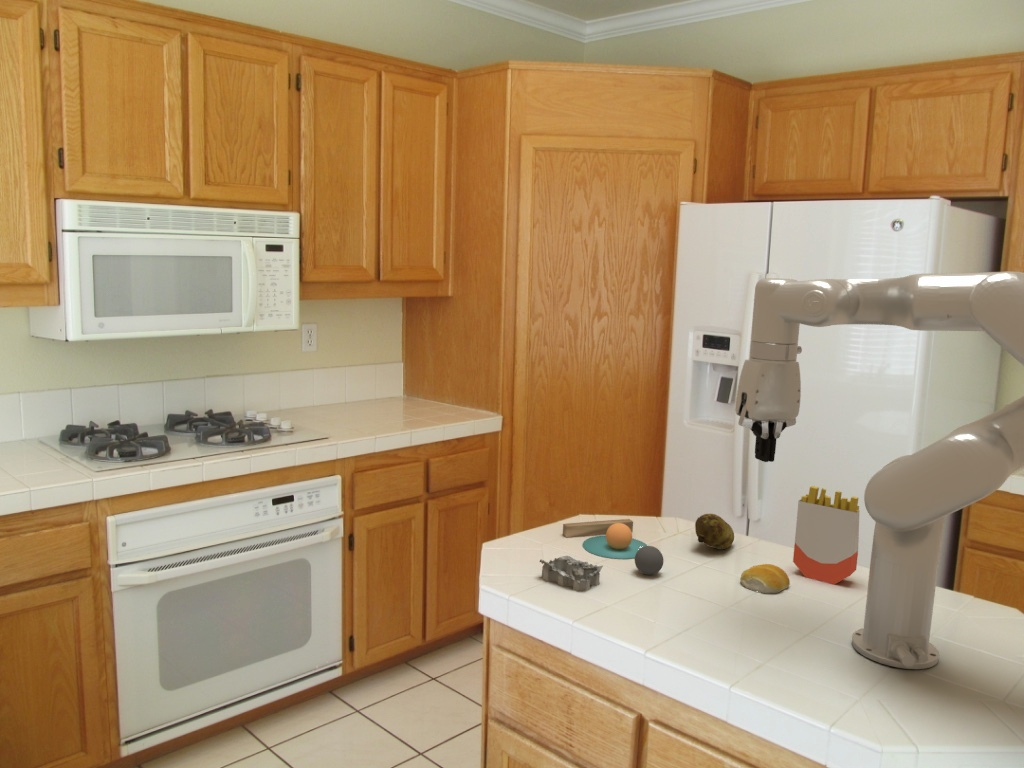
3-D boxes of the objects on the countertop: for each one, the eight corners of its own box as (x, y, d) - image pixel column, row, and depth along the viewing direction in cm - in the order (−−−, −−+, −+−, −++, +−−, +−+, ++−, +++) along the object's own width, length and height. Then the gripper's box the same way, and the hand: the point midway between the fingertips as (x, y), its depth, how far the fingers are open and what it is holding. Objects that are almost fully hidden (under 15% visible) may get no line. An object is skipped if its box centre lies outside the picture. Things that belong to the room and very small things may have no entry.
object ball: (617, 519, 179) (617, 544, 180) (600, 523, 176) (600, 548, 176) (638, 523, 175) (637, 549, 176) (621, 527, 172) (620, 554, 172)
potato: (749, 548, 180) (752, 511, 179) (712, 560, 172) (715, 522, 171) (717, 537, 186) (720, 502, 185) (680, 548, 178) (682, 511, 177)
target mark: (651, 561, 170) (651, 560, 170) (581, 556, 171) (582, 555, 171) (647, 538, 183) (647, 537, 183) (583, 534, 185) (583, 533, 185)
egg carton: (535, 579, 159) (536, 559, 158) (560, 569, 164) (560, 549, 164) (581, 595, 152) (582, 573, 151) (605, 584, 158) (606, 563, 157)
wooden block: (632, 532, 187) (633, 521, 187) (566, 537, 182) (566, 526, 182) (628, 529, 189) (629, 518, 189) (562, 534, 184) (563, 523, 184)
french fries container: (799, 567, 169) (807, 480, 167) (855, 581, 163) (864, 491, 160) (791, 573, 166) (799, 485, 163) (848, 588, 159) (858, 496, 157)
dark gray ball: (643, 545, 167) (648, 574, 166) (626, 549, 163) (631, 578, 162) (666, 542, 163) (671, 571, 162) (649, 546, 159) (655, 575, 158)
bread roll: (795, 586, 160) (797, 566, 160) (773, 598, 154) (775, 577, 153) (755, 573, 166) (756, 554, 165) (732, 585, 159) (734, 565, 159)
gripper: (796, 350, 146) (787, 453, 149) (722, 350, 141) (714, 456, 144) (825, 355, 139) (815, 463, 142) (748, 355, 134) (739, 467, 137)
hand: (764, 459), depth 143 cm, fingers closed
